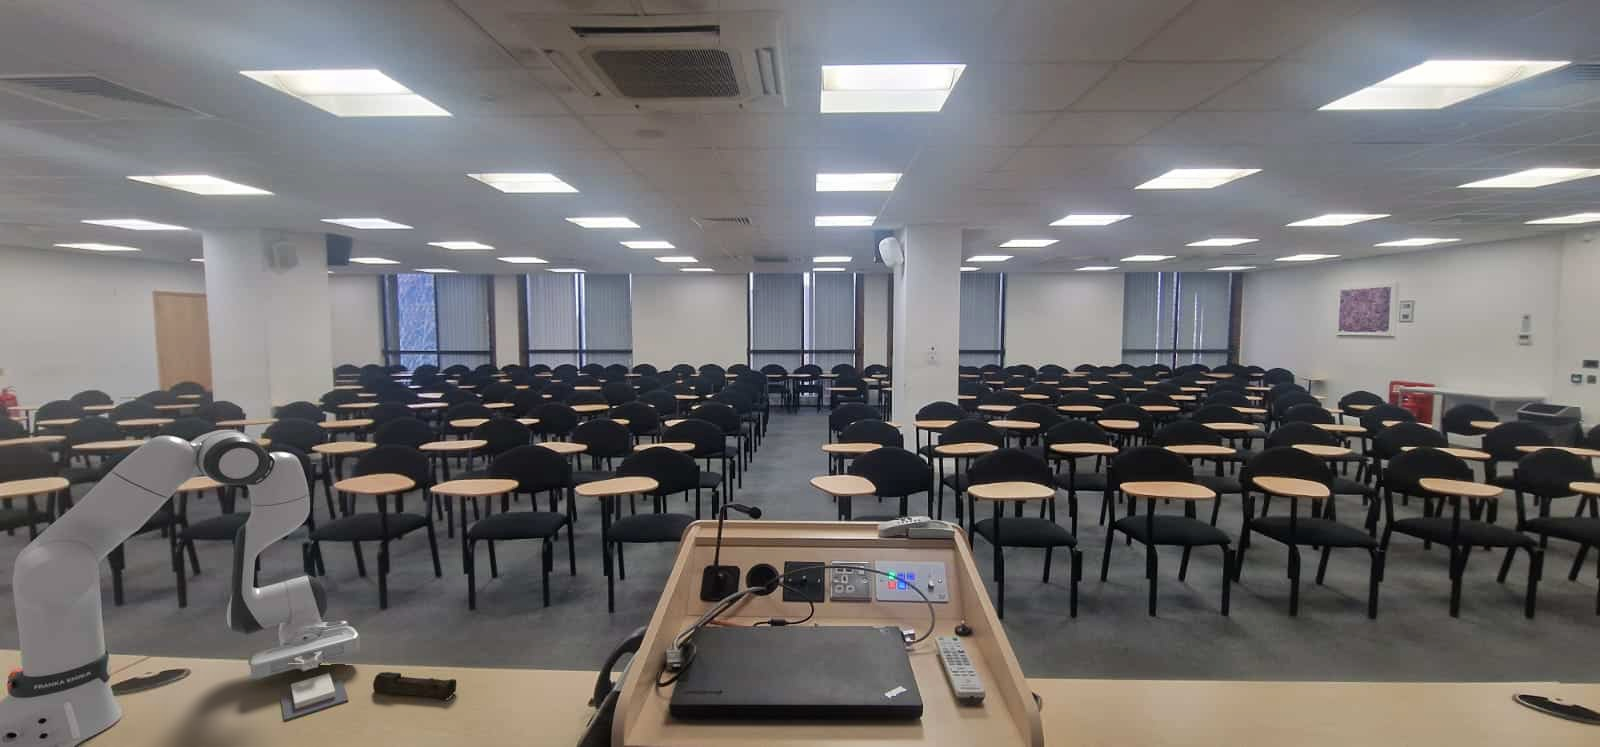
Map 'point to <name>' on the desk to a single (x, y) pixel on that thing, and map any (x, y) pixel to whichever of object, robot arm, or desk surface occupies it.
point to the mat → (291, 712)
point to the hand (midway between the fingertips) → (310, 666)
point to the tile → (312, 691)
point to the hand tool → (413, 685)
